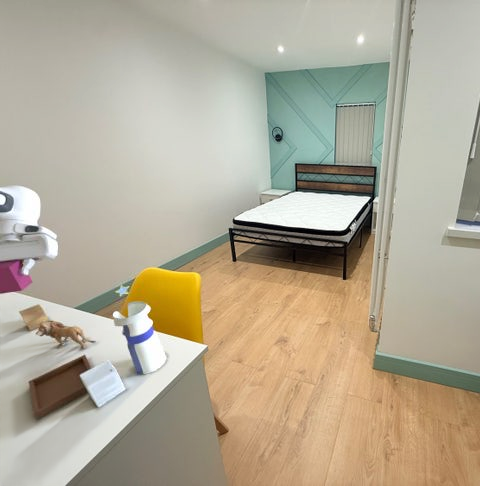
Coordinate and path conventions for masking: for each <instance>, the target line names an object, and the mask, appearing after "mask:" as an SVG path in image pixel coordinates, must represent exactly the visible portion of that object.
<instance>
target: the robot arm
mask: <svg viewBox="0 0 480 486" xmlns="http://www.w3.org/2000/svg"><path fill="white" fill-rule="evenodd" d="M41 208H42V207H41V198H40V196H39V194H37V192H36V191H34V190H32V189H31V188H28V187H26V186H21V185H13V184H12V185H7V186H1V187H0V262H6V261H14V260H21V261H22V263H23V265H24V266H23V267H22V268H21V269H18V275H20V276H24V275H28V274H29V273H30V272H29V271H30V270H31V269H32V268H33V267H34V266H35V263H36V262H39V261H40V262H41V261H47V260H54V259H55V258H56V257H57V256H58V252H59V243H58V241H57V240H56V239H57V237H58V235H57V234H56V233H55V232H53V231H52V230H50V229H49V228H46V227H44V226H42V225H39V224H38V220H39V219H40V217H41Z"/></svg>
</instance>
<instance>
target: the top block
mask: <svg viewBox="0 0 480 486" xmlns="http://www.w3.org/2000/svg"><path fill="white" fill-rule="evenodd" d="M23 266H24V263H22V261H21V260H14V261H6V262H0V295H2V294H3V295H4V294H8V293H15V292H22V291H24V290H25V289H26V288H27V287H28V286H30V285H31V284H32V283H33V280H32V278H31V276H30V274H29V273H28V275H24V276H20V275H18V269H21V268H22V267H23Z"/></svg>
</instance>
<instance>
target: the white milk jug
mask: <svg viewBox="0 0 480 486" xmlns="http://www.w3.org/2000/svg"><path fill="white" fill-rule="evenodd" d="M129 288H130V286H129V285H127V286H124V285H122V284H121V285H120V286H119V289H117V290H115V291H114V293H117V294H119V298H120V297H122V296H124V295H128V294H129V293H130V292H128V289H129ZM151 309H152V308H151V306H150V305H148V303H146V302H145V301H141V300H139V301H137V300H136V301H131V302H128V303H127V315H128V317H127V316H125V315H123V314H121V313H120V312H119V311H118V310H117V311H116V310H115V311H114V312H113V313H112V320H113V323H114V326H115V327H122V330H121V334H122V335H123V336H124V337H125V340H126V347H127V350H128V352H129V355H130V357H131V361H132V364H133V366H134V370H135V372H136V373H137V374H139V375H146V374H151V373H152V372H156V371H157V370H159V369H160V368H161V367H162V366H163V365H164V364H165V362H166V360H167V355H166V353H165V351H164V349H163V346H162V344H161V341H160V339H159V336H158V334H157V331H155V330H154V327H153V323H154V322H153V320H152V319H151V318H149V316H148V314H149V313H150V312H151Z"/></svg>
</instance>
